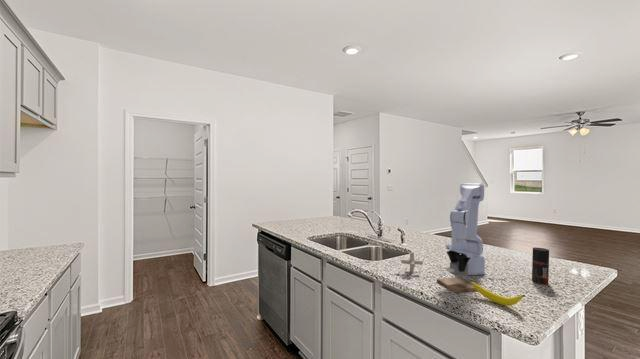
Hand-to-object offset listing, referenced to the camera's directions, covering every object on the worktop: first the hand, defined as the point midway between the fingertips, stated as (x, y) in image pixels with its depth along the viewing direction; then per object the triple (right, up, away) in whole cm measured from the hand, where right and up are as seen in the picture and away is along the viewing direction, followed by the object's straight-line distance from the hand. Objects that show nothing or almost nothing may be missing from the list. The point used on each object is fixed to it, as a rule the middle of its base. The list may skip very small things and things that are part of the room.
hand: (458, 269), depth 123 cm
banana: (+6, -8, -16) cm, 19 cm away
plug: (0, -2, 0) cm, 2 cm away
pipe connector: (-15, -7, +16) cm, 23 cm away
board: (0, -7, 0) cm, 7 cm away
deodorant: (+40, -8, +6) cm, 41 cm away
